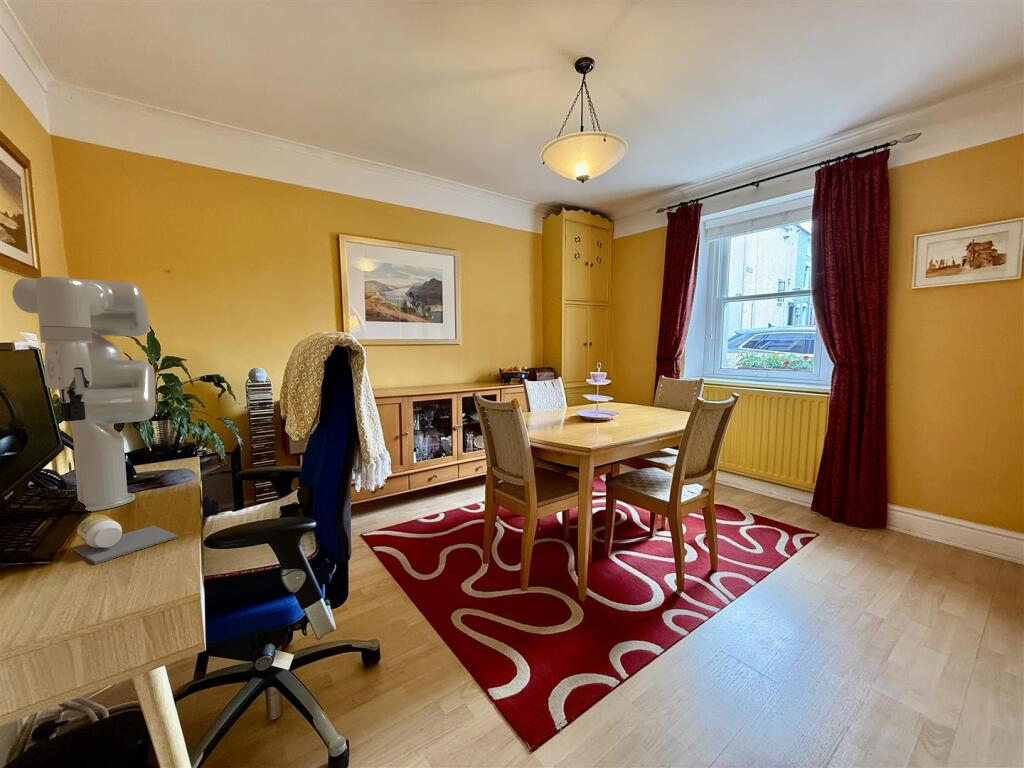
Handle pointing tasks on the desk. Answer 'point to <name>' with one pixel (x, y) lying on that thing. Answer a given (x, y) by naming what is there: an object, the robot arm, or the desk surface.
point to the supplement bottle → (99, 531)
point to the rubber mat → (126, 544)
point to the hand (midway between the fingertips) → (74, 420)
